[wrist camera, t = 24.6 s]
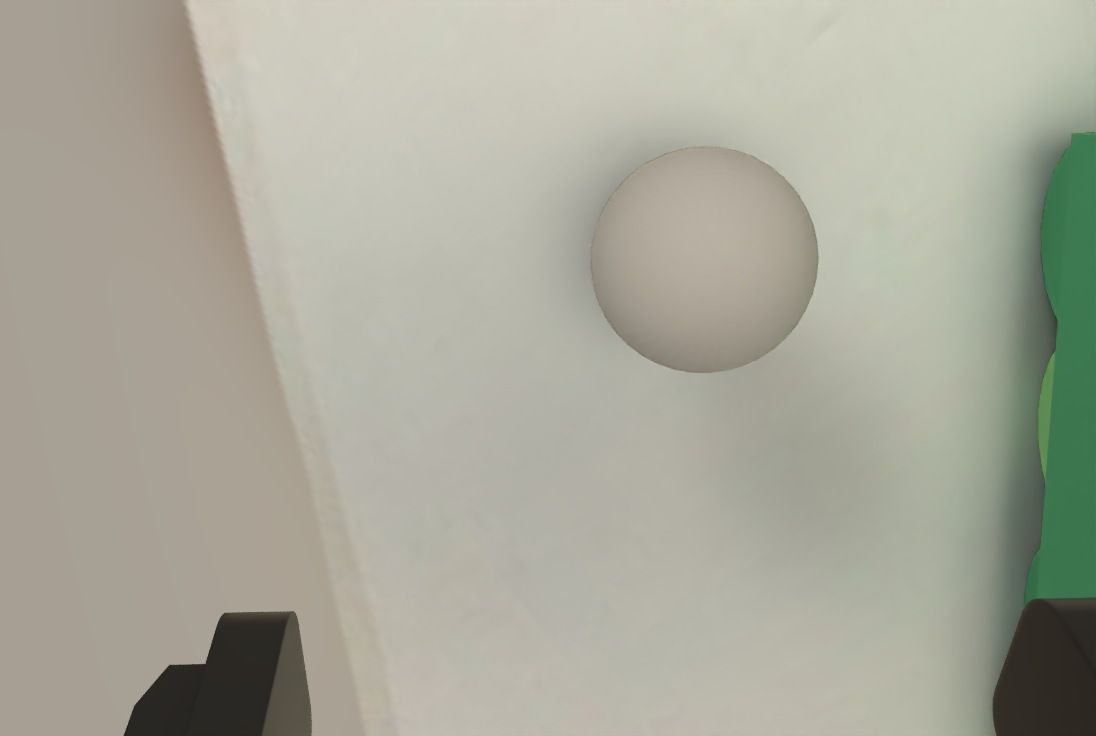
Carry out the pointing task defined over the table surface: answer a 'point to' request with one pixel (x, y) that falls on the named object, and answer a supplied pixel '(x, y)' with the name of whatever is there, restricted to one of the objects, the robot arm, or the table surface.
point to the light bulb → (704, 259)
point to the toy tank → (1069, 382)
